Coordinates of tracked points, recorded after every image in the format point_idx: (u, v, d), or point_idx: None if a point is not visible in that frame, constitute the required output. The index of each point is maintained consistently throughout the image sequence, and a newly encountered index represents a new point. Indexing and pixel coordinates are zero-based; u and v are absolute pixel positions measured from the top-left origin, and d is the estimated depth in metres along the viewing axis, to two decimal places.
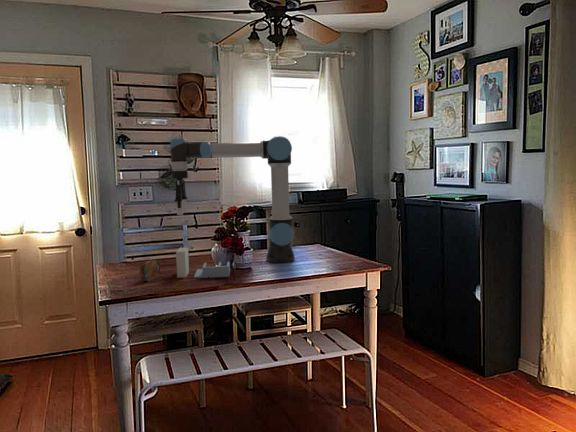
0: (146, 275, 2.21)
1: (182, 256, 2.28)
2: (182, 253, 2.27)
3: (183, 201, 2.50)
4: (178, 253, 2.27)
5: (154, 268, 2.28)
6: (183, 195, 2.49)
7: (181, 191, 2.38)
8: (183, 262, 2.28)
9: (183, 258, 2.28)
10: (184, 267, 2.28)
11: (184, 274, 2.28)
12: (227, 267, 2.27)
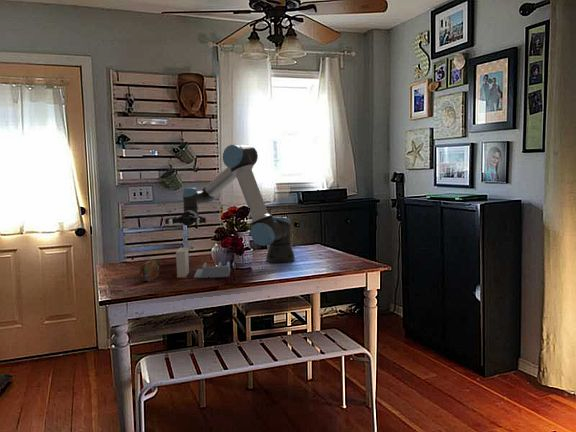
0: (146, 275, 2.21)
1: (182, 256, 2.28)
2: (182, 253, 2.27)
3: None
4: (178, 253, 2.27)
5: (154, 268, 2.28)
6: (197, 219, 2.51)
7: (176, 218, 2.52)
8: (183, 262, 2.28)
9: (183, 258, 2.28)
10: (184, 267, 2.28)
11: (184, 274, 2.28)
12: (227, 267, 2.27)
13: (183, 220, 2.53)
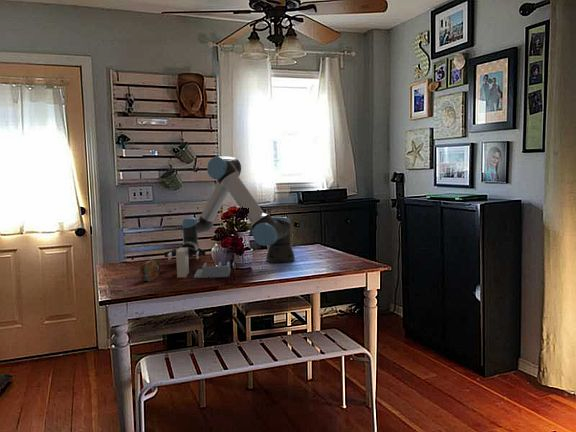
0: (146, 275, 2.21)
1: (182, 256, 2.28)
2: (182, 253, 2.27)
3: None
4: (178, 253, 2.27)
5: (154, 268, 2.28)
6: (196, 252, 2.48)
7: (175, 251, 2.50)
8: (183, 262, 2.28)
9: (183, 258, 2.28)
10: (184, 267, 2.28)
11: (184, 274, 2.28)
12: (227, 267, 2.27)
13: None
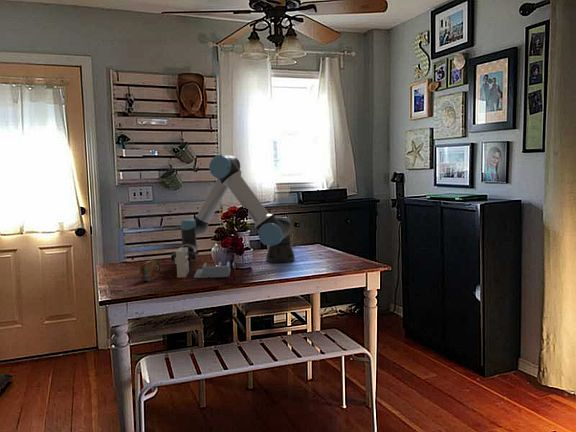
0: (146, 275, 2.21)
1: (182, 256, 2.28)
2: (182, 253, 2.27)
3: None
4: (178, 253, 2.27)
5: (154, 268, 2.28)
6: None
7: None
8: (183, 262, 2.28)
9: (183, 258, 2.28)
10: (184, 267, 2.28)
11: (184, 274, 2.28)
12: (227, 267, 2.27)
13: None
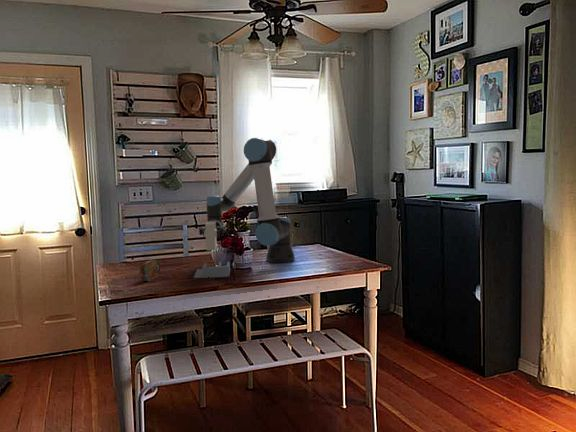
0: (146, 275, 2.21)
1: (211, 229, 2.26)
2: (211, 226, 2.26)
3: None
4: (207, 226, 2.26)
5: (154, 268, 2.28)
6: None
7: None
8: (212, 235, 2.27)
9: (212, 231, 2.26)
10: (213, 240, 2.27)
11: (213, 247, 2.27)
12: (227, 267, 2.27)
13: None
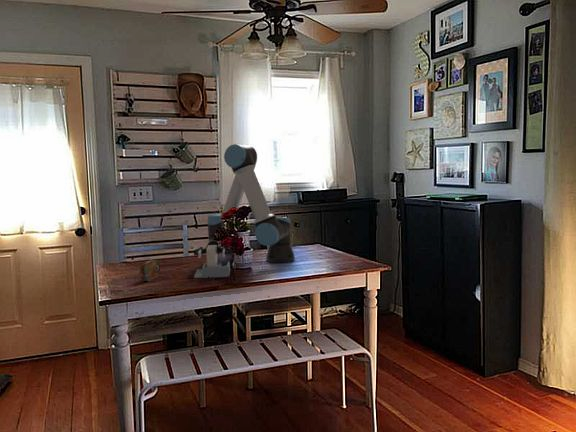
0: (146, 275, 2.21)
1: (212, 253, 2.28)
2: (212, 250, 2.27)
3: None
4: (208, 250, 2.27)
5: (154, 268, 2.28)
6: (222, 250, 2.39)
7: (203, 248, 2.40)
8: (213, 259, 2.28)
9: (213, 255, 2.28)
10: (214, 264, 2.28)
11: None
12: (227, 267, 2.27)
13: None
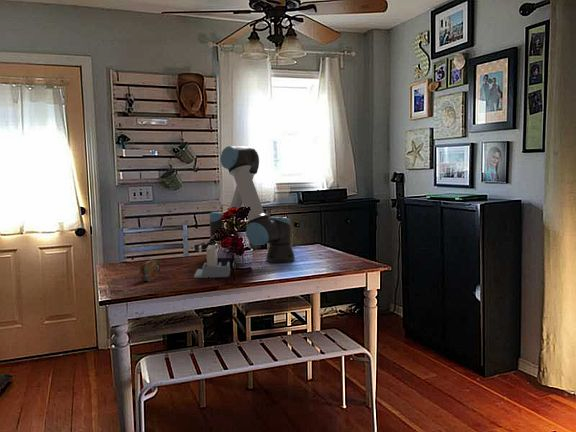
0: (146, 275, 2.21)
1: (212, 253, 2.28)
2: (212, 250, 2.27)
3: None
4: (208, 250, 2.27)
5: (154, 268, 2.28)
6: None
7: (204, 244, 2.54)
8: (213, 259, 2.28)
9: (213, 255, 2.28)
10: (214, 264, 2.28)
11: None
12: (227, 267, 2.27)
13: None
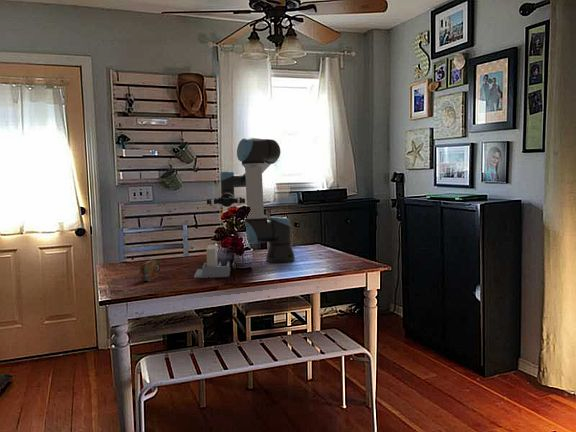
0: (146, 275, 2.21)
1: (212, 253, 2.28)
2: (212, 250, 2.27)
3: None
4: (208, 250, 2.27)
5: (154, 268, 2.28)
6: (236, 200, 2.64)
7: (216, 199, 2.66)
8: (213, 259, 2.28)
9: (213, 255, 2.28)
10: (214, 264, 2.28)
11: None
12: (227, 267, 2.27)
13: (223, 201, 2.67)
